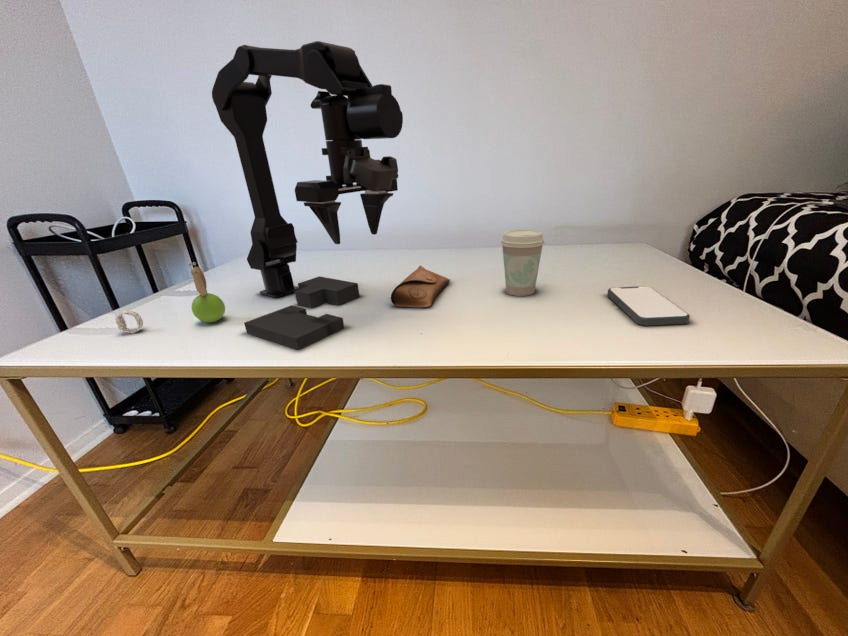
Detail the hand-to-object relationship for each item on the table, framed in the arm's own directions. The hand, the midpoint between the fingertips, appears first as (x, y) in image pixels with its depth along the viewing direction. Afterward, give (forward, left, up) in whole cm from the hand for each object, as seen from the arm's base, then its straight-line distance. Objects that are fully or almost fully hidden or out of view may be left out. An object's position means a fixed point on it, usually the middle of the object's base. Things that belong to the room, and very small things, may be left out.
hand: (356, 238), depth 74 cm
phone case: (+46, +25, -14) cm, 54 cm away
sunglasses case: (+4, +14, -14) cm, 20 cm away
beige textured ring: (-31, -28, -14) cm, 45 cm away
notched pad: (-4, -12, -14) cm, 19 cm away
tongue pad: (-13, +1, -14) cm, 19 cm away
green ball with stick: (-22, -18, -14) cm, 32 cm away
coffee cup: (+22, +24, -14) cm, 35 cm away
